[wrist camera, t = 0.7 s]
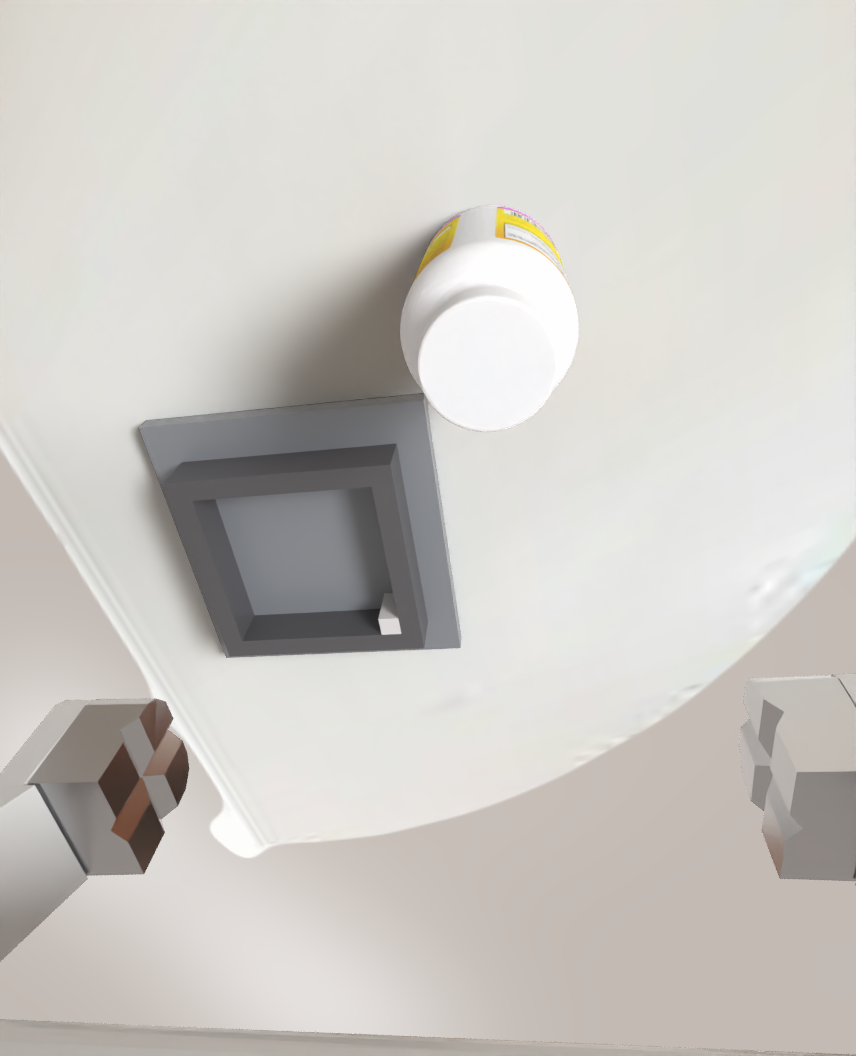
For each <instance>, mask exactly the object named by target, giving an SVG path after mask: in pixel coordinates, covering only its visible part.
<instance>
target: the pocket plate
mask: <svg viewBox="0 0 856 1056" xmlns="http://www.w3.org/2000/svg"><path fill="white" fill-rule="evenodd" d="M139 430H140V433H141V435H142V438H143V441H144V443H145V446H146V449H147V451H148V454H149V456H150V459H151V462H152V464H153V467H154V470H155V472H156V475H157V477H158V480H159V483H160V485H161V488H162V491H163V493H164V496H165V498H166V501H167V504H168V506H169V509H170V512H171V514H172V517H173V519H174V522H175V525H176V527H177V530H178V533H179V535H180V538H181V540H182V543H183V546H184V548H185V551H186V553H187V556H188V559H189V561H190V564H191V567H192V569H193V572H194V574H195V577H196V580H197V582H198V585H199V588H200V590H201V593H202V595H203V598H204V601H205V603H206V606H207V609H208V611H209V614H210V616H211V619H212V622H213V624H214V627H215V630H216V632H217V635H218V637H219V640H220V643H221V645H222V648H223V651H224V653H225V656H226V658H231V657H255V656H279V655H303V654H327V653H351V652H374V651H398V650H422V649H446V648H460V647H461V633H460V626H459V619H458V612H457V605H456V599H455V592H454V585H453V578H452V571H451V565H450V558H449V551H448V544H447V537H446V531H445V524H444V517H443V510H442V503H441V497H440V490H439V483H438V476H437V469H436V463H435V456H434V449H433V442H432V435H431V429H430V422H429V415H428V408H427V402H426V396H425V395H424V393H423V394H413V395H402V396H392V397H382V398H372V399H361V400H351V401H341V402H331V403H320V404H310V405H300V406H290V407H279V408H269V409H259V410H249V411H238V412H228V413H218V414H208V415H197V416H187V417H177V418H167V419H156V420H146V421H145V422H144V423H143V424H142V425H141V426H140V427H139Z"/></svg>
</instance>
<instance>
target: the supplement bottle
mask: <svg viewBox="0 0 856 1056" xmlns="http://www.w3.org/2000/svg"><path fill="white" fill-rule="evenodd" d="M400 340H401V347H402V351H403V354H404V358H405V361H406V364H407V366H408V368H409V371H410V373H411V375H412V376H413V378H414V379H415V381H416V382H417V384H418V385H419V386H420V388H421V389H422V390H423V392H424V395H425V396H426V398H427V400H428V401H429V403H430V404H431V405H432V407H433V408H434V409H435V410H436V411H437V412H438V413H439V414H440V415H441V416H442V417H444V418H445V419H446V420H448V421H450V422H451V423H453V424H455V425H457V426H459V427H462V428H465V429H468V430H473V431H480V432H494V431H501V430H505V429H509V428H511V427H514V426H517V425H519V424H521V423H522V422H524V421H526V420H527V419H529V418H530V417H531V416H533V415H534V414H535V413H536V412H537V411H538V410H539V409H540V408H541V407H542V406H543V404H544V403H545V402H546V400H547V399H548V397H549V396H550V394H551V392H552V391H553V390H554V389H555V388H556V387H557V386H558V384H559V383H560V382H561V381H562V379H563V378H564V376H565V374H566V373H567V371H568V369H569V367H570V365H571V362H572V360H573V357H574V354H575V350H576V346H577V340H578V315H577V309H576V305H575V300H574V297H573V293H572V291H571V288H570V286H569V283H568V280H567V277H566V274H565V271H564V268H563V265H562V262H561V259H560V256H559V254H558V251H557V249H556V247H555V245H554V243H553V241H552V240H551V238H550V236H549V235H548V233H547V232H546V231H545V230H544V229H543V227H542V226H541V225H540V224H539V223H538V222H536V221H535V220H534V219H533V218H531V217H530V216H529V215H527V214H525V213H523V212H521V211H519V210H516V209H514V208H510V207H506V206H500V205H485V206H478V207H475V208H472V209H468V210H466V211H464V212H462V213H460V214H458V215H456V216H455V217H453V218H452V219H450V220H449V221H448V222H447V223H446V224H445V225H444V226H443V227H442V228H441V229H440V230H439V231H438V232H437V234H436V235H435V236H434V238H433V239H432V241H431V243H430V244H429V246H428V248H427V250H426V253H425V255H424V257H423V260H422V262H421V264H420V267H419V269H418V272H417V274H416V277H415V279H414V281H413V283H412V286H411V288H410V290H409V292H408V295H407V297H406V300H405V303H404V307H403V310H402V315H401V323H400Z"/></svg>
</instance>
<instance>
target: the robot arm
mask: <svg viewBox="0 0 856 1056" xmlns="http://www.w3.org/2000/svg"><path fill="white" fill-rule="evenodd" d="M743 703H744V705H745V708H746V710H747V713H748V715H749V718H750V719H749V720H748V721H747V722H746V723H745V724H744V725H743V726H742V727H741V728H740V743H739V750H740V761H741V769H742V773H743V777H744V782H745V785H746V788H747V791H748V794H749V796H750V799H751V801H752V802H753V803H754V804H756V805H757V806H758V807H759V808H761V809H762V810H763V811H764V817H763V826H762V833H763V835H764V838H765V841H766V843H767V846H768V849H769V851H770V854H771V857H772V859H773V862H774V865H775V867H776V870H777V873H778V875H779V878H780V879H809V880H839V881H856V674H836V675H831V676H806V677H805V676H803V677H778V678H756V679H755V678H754V679H748V681H747V684H746V686H745V692H744V700H743ZM172 720H173V717H172V714H171V712H170V710H169V708H168V706H167V704H166V702H165V701H162V700H159V699H96V700H65V701H63V702H61V703H59V704H57V705H55V706H54V707H53V709H52V710H51V711H50V712H49V714H48V715H47V716H46V717H45V719H44V720H43V721H42V722H41V723H40V725H39V726H38V727H37V728H36V730H35V731H34V732H33V733H32V735H31V736H30V737H29V738H28V740H27V741H26V742H25V743H24V745H23V746H22V747H21V748H20V750H19V751H18V752H17V753H16V755H15V756H14V757H13V758H12V760H11V761H10V762H9V763H8V765H7V766H6V767H5V768H4V770H3V771H2V772H1V773H0V961H1V960H2V959H4V958H5V957H6V956H7V955H8V954H9V953H10V952H11V951H12V950H13V949H14V948H15V947H16V946H17V945H18V944H19V943H20V942H22V941H23V940H24V939H25V938H26V937H27V936H28V935H29V934H30V933H31V932H32V931H33V930H34V929H35V928H36V927H37V926H38V925H39V924H41V922H43V921H44V920H45V919H46V918H47V917H48V916H49V915H50V914H51V913H52V912H53V911H54V910H55V909H56V908H57V907H58V906H60V905H61V904H62V903H63V902H64V901H65V900H66V899H67V898H68V897H69V896H70V895H71V894H72V893H73V892H74V891H75V890H76V889H78V888H79V886H81V885H82V884H83V883H84V882H85V881H86V880H87V875H124V874H125V875H129V874H144V873H145V871H146V869H147V867H148V865H149V863H150V861H151V859H152V857H153V855H154V853H155V851H156V849H157V847H158V845H159V843H160V841H161V839H162V837H163V835H164V833H165V831H164V828H163V824H162V820H161V819H162V818H163V817H165V816H166V815H167V814H168V813H170V812H171V811H172V810H173V809H174V808H176V807H177V806H178V805H179V802H180V800H181V798H182V796H183V794H184V791H185V789H186V784H187V779H188V772H189V763H188V755H187V751H186V749H185V746H184V743H183V741H182V740H180V738H178V737H177V736H176V735H174V734H173V733H172V732H170V731H169V730H168V729H169V727H170V725H171V723H172ZM0 1056H856V1055H850V1054H825V1053H802V1052H778V1051H777V1052H776V1051H754V1050H730V1049H729V1050H728V1049H705V1048H682V1047H658V1046H633V1045H608V1044H584V1043H561V1042H536V1041H512V1040H489V1039H465V1038H440V1037H417V1036H392V1035H367V1034H343V1033H342V1034H341V1033H318V1032H317V1033H315V1032H292V1031H269V1030H244V1029H218V1028H195V1027H171V1026H147V1025H123V1024H98V1023H75V1022H51V1021H28V1020H4V1019H0Z"/></svg>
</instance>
